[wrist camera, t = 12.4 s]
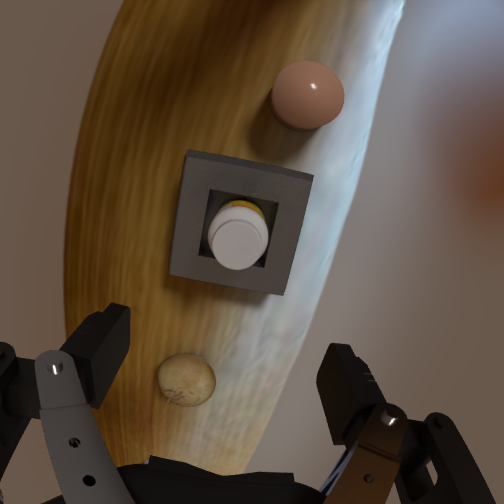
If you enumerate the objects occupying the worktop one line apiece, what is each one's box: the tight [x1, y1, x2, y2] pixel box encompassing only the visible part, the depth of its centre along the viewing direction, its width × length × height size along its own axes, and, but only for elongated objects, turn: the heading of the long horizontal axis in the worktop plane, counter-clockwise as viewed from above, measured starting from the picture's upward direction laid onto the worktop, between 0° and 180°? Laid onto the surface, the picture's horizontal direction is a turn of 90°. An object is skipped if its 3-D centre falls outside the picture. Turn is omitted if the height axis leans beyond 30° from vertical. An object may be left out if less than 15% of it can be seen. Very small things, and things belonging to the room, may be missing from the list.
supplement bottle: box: [208, 199, 268, 270], centre depth 28 cm, size 5×5×10 cm
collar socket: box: [169, 149, 314, 296], centre depth 32 cm, size 14×14×4 cm
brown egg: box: [270, 61, 344, 131], centre depth 28 cm, size 7×7×5 cm
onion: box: [158, 353, 216, 407], centre depth 37 cm, size 8×8×7 cm
